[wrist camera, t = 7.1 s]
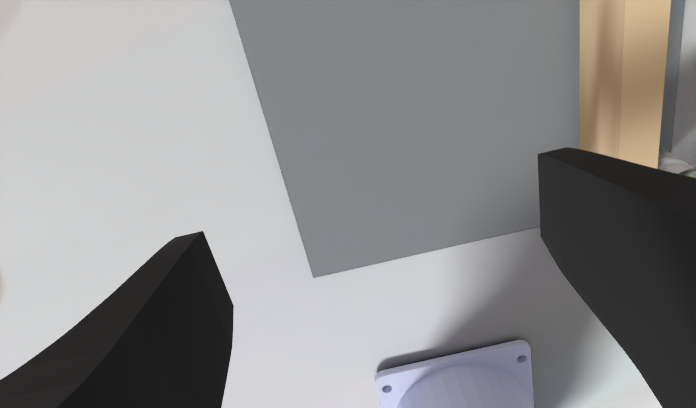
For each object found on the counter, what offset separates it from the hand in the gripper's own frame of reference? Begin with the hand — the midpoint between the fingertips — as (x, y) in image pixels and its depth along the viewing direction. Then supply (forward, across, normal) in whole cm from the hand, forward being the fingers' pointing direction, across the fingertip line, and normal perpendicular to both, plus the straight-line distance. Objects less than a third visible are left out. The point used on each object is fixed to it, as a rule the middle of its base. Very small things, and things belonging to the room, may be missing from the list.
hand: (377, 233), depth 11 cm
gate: (+9, -9, +1) cm, 13 cm away
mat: (+10, -5, 0) cm, 11 cm away
